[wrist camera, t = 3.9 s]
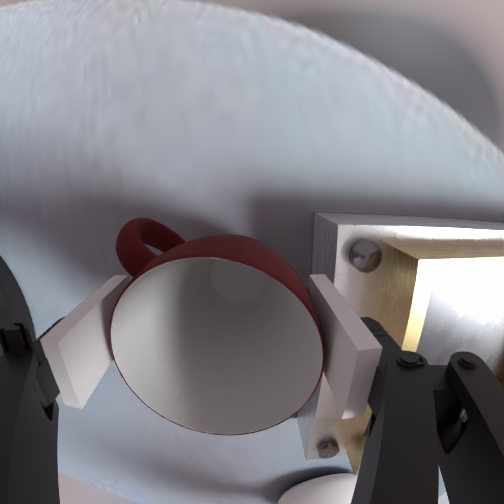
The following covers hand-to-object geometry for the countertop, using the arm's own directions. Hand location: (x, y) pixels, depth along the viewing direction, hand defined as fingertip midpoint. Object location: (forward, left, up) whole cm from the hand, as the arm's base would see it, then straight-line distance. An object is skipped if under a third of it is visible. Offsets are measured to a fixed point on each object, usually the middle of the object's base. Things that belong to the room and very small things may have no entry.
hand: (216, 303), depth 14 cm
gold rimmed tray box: (+20, -5, -6) cm, 21 cm away
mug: (0, 0, -6) cm, 6 cm away
